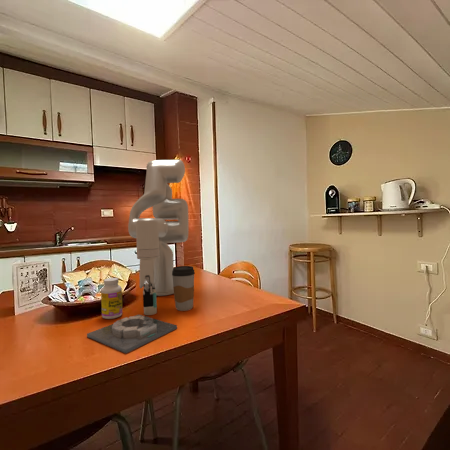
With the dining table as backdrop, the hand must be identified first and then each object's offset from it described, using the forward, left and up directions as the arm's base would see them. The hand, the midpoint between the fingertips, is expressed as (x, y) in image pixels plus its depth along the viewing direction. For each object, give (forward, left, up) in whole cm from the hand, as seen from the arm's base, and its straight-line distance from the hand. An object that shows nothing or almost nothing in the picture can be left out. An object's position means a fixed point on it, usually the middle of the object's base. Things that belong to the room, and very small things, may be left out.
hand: (149, 302), depth 99 cm
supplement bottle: (-9, -9, -4) cm, 13 cm away
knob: (0, 0, -4) cm, 4 cm away
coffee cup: (+7, +10, -4) cm, 13 cm away
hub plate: (+9, -14, -4) cm, 17 cm away
